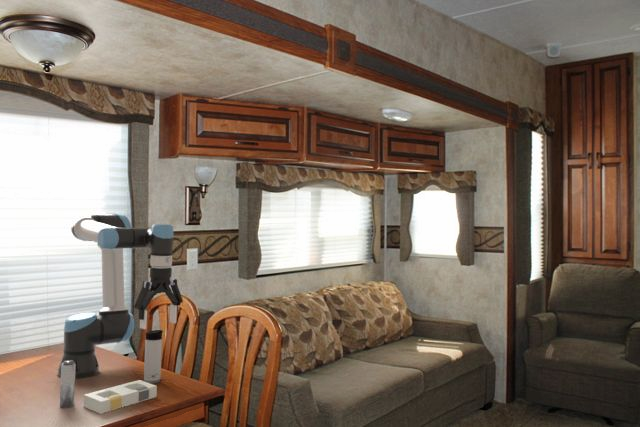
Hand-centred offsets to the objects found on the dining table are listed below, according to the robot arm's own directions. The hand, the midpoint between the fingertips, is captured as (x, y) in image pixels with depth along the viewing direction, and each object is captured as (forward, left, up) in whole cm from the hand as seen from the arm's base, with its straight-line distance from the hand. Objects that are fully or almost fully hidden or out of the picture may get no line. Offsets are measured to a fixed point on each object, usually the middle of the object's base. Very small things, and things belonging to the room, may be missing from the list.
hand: (158, 325), depth 198 cm
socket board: (-4, -12, -25) cm, 28 cm away
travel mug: (-14, +9, -26) cm, 31 cm away
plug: (-14, -26, -25) cm, 39 cm away
